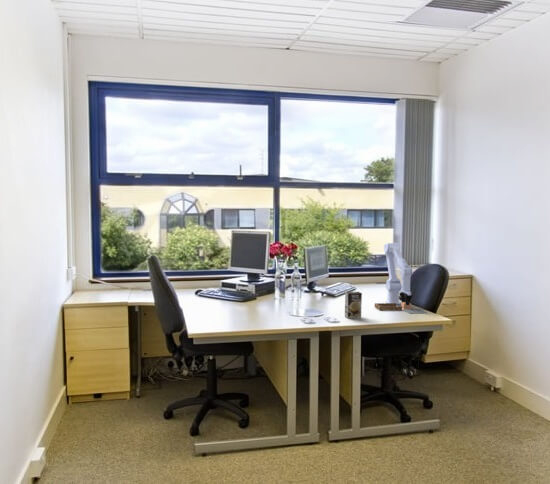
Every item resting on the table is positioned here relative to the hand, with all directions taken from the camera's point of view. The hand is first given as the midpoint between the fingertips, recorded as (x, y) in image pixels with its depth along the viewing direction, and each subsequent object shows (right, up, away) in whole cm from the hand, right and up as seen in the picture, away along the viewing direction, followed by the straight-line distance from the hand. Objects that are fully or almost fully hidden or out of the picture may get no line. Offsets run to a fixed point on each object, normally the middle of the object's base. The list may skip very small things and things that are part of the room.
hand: (405, 303), depth 337 cm
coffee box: (-41, -5, -27) cm, 49 cm away
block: (0, -3, 0) cm, 3 cm away
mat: (+4, -4, -9) cm, 11 cm away
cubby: (-12, -3, -1) cm, 13 cm away
